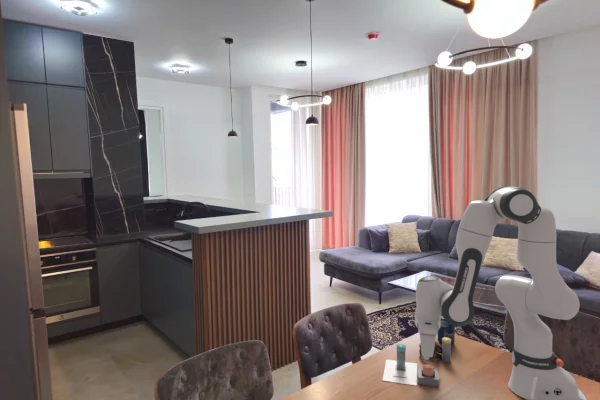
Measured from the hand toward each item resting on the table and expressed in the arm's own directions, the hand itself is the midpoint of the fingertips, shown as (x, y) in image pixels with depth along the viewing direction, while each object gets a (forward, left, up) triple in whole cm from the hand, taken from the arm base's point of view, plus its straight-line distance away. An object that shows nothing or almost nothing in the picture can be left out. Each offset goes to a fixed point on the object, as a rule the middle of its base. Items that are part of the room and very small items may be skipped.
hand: (426, 357), depth 138 cm
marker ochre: (-8, -17, -8) cm, 21 cm away
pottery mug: (-2, -20, -9) cm, 22 cm away
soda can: (-9, -33, -9) cm, 35 cm away
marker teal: (+9, -6, -8) cm, 13 cm away
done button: (-1, 0, -7) cm, 7 cm away
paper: (+9, -3, -8) cm, 13 cm away
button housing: (-1, 0, -8) cm, 8 cm away
